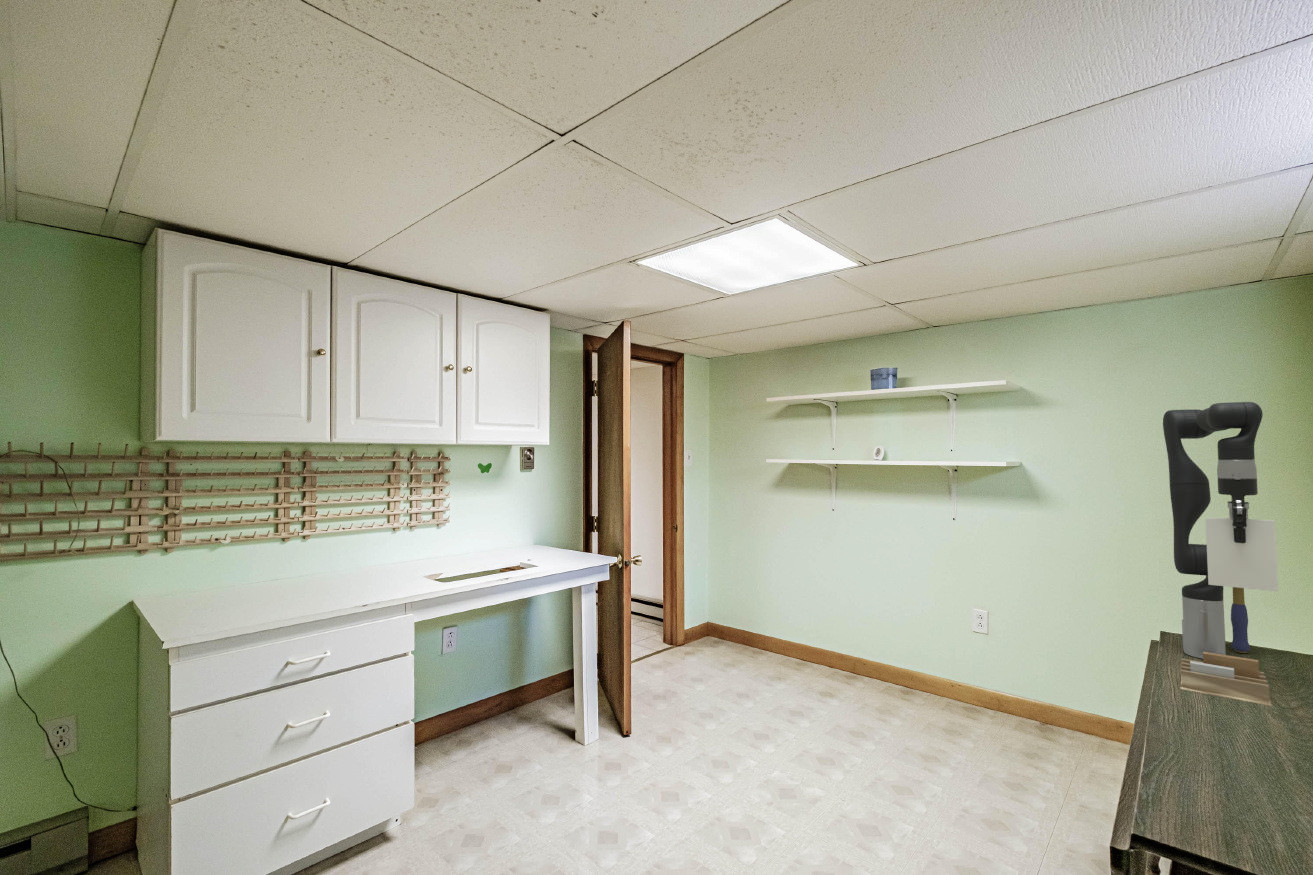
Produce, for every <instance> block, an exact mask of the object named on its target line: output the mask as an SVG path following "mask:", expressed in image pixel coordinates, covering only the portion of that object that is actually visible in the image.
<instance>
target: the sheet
mask: <svg viewBox="0 0 1313 875" xmlns="http://www.w3.org/2000/svg"><path fill="white" fill-rule="evenodd" d="M1236 522H1243V520H1238V519H1237V520H1236ZM1232 523H1233V520H1232V519H1231V518H1230V517H1229V518H1228V517H1209V516H1208V517H1205V539H1206V541H1205V542H1206V545H1207V564H1208V584H1209V585H1217V586H1223V587H1230V588H1233V587H1238V588H1244V589H1247V590H1249V589H1250V590H1259V591H1268V592H1269V591H1271V592H1278V591H1279V584H1278V567H1277V566H1278V564H1277V545H1276V544H1277V543H1276V525H1275V524H1276V523H1275V520H1274V519H1259V518H1258V519H1257V518H1256V519H1255V518H1253V519H1251V518H1250V519H1249V518H1248V519H1247V520H1246V524H1247V528H1246V529H1245V532H1246V543H1236V542H1234V528H1233V527H1232V525H1233V524H1232Z"/></svg>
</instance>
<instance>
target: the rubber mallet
mask: <svg viewBox="0 0 1313 875" xmlns="http://www.w3.org/2000/svg"><path fill="white" fill-rule="evenodd" d="M1245 601H1246V600H1245V588H1238V587H1232V604H1231V609H1230V622H1231V627H1232V641H1231V648H1232V649H1233V650H1234V652H1236V653H1239V654H1248V652H1249V651H1250V649H1251V647H1250V644H1249V637H1248V635H1249V634H1248V627H1249V617H1248V616H1249V615H1248V609H1247V606H1246V603H1245Z"/></svg>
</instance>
